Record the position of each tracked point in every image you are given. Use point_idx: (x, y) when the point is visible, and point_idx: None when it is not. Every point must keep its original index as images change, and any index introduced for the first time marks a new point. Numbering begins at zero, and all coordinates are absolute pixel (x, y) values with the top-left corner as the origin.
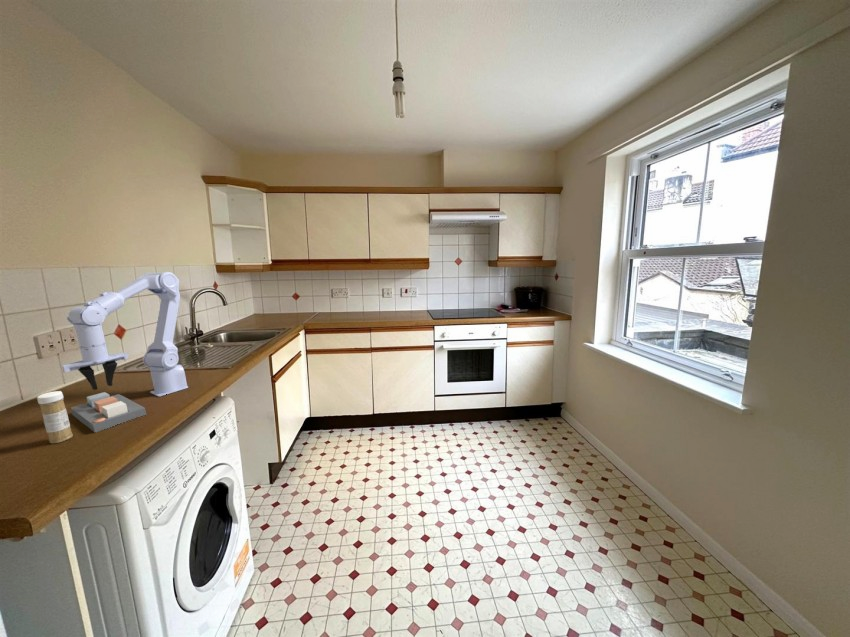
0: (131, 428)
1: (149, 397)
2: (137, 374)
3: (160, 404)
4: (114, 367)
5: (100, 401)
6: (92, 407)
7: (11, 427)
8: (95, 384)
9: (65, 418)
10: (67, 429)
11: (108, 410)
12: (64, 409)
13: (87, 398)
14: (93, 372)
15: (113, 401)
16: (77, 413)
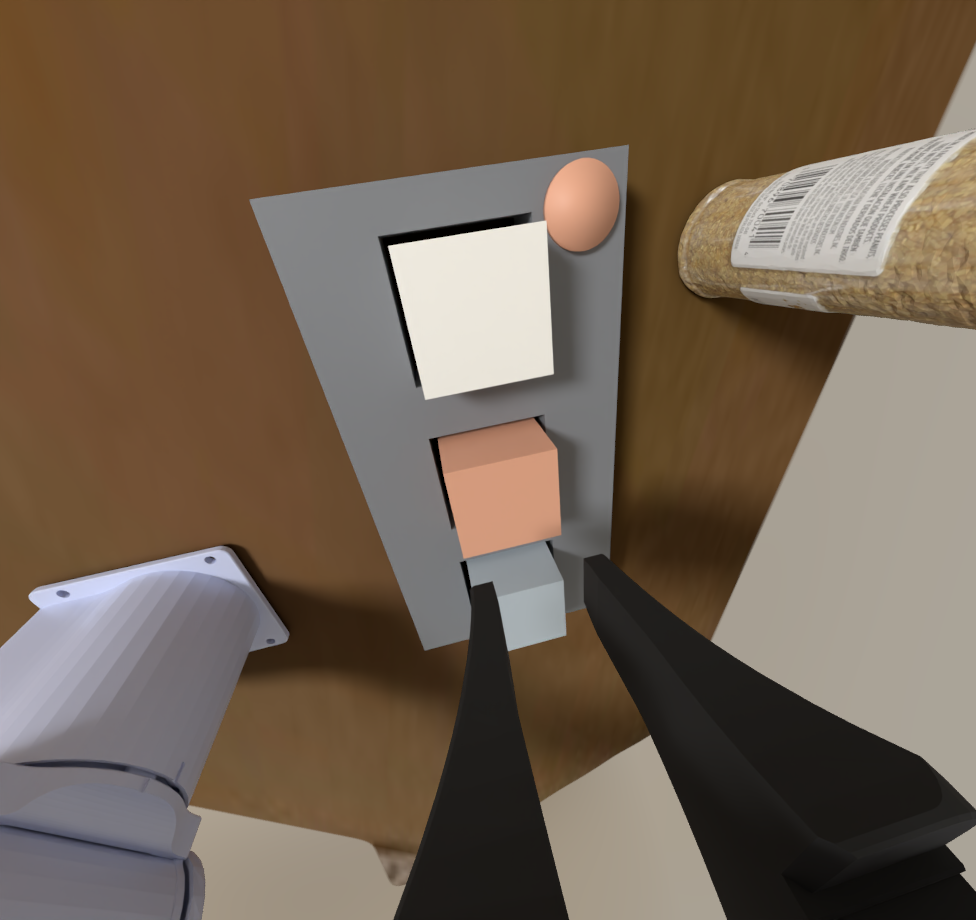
0: None
1: (289, 575)
2: (356, 828)
3: (196, 394)
4: (439, 877)
5: (534, 507)
6: (548, 538)
7: (729, 582)
8: (621, 594)
9: (837, 181)
10: (751, 196)
11: (530, 224)
12: (925, 187)
13: (563, 620)
14: (761, 766)
15: (468, 464)
16: (609, 508)
